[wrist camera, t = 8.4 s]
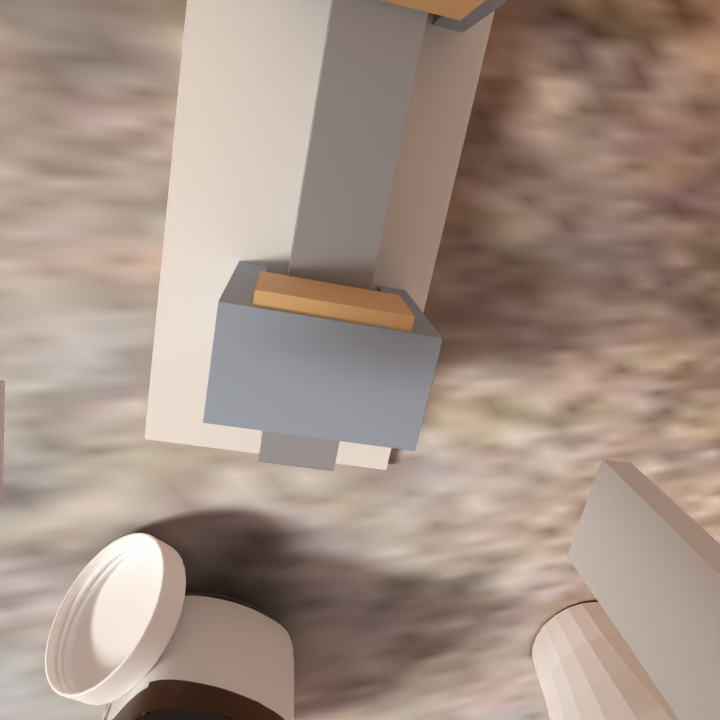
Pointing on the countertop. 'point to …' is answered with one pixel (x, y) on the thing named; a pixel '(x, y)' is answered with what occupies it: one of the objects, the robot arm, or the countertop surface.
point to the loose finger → (320, 360)
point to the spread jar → (165, 643)
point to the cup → (593, 670)
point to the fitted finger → (453, 11)
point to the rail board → (302, 179)
